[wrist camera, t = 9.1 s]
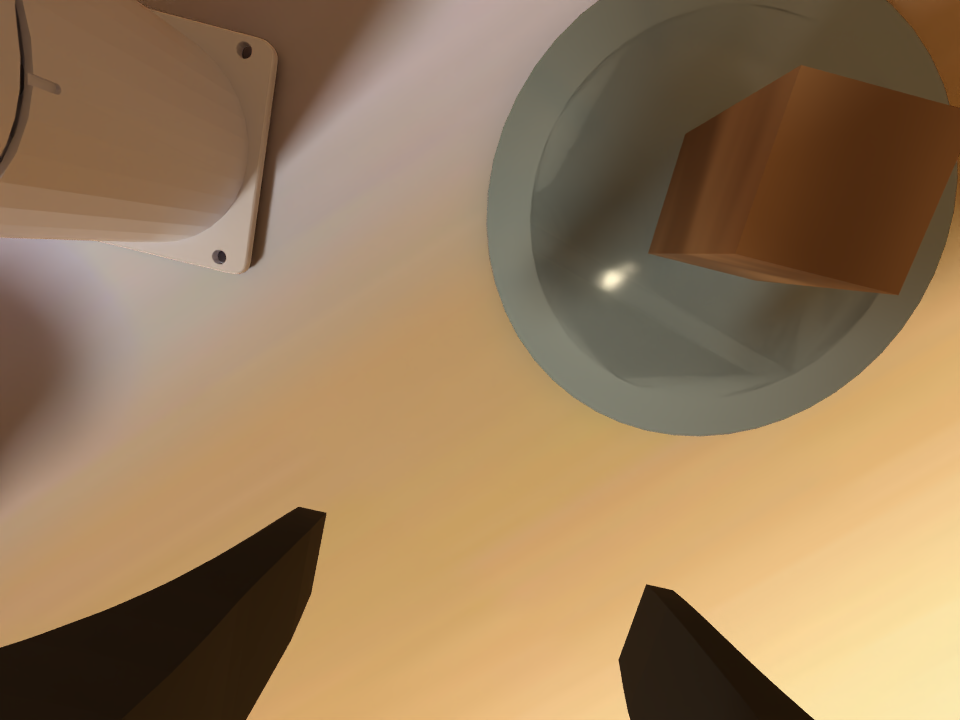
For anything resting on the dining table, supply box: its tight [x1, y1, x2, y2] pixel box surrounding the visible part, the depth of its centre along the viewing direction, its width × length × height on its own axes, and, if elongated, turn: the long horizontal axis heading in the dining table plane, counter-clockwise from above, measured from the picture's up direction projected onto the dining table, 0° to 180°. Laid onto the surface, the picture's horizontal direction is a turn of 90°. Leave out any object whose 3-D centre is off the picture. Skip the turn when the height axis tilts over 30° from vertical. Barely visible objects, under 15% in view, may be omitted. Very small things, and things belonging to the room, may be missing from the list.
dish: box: [487, 0, 957, 436], centre depth 17 cm, size 16×16×1 cm
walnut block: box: [648, 65, 960, 295], centre depth 14 cm, size 4×4×6 cm
